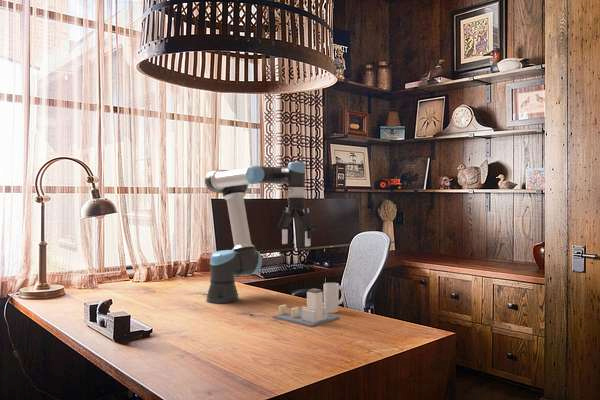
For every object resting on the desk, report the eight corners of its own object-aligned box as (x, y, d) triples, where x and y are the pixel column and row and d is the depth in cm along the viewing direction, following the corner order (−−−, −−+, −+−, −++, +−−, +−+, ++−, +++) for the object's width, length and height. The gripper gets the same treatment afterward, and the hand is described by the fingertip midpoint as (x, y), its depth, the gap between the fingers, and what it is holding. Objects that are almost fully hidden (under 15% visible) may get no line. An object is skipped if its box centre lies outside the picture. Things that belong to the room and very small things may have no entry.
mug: (327, 313, 212) (328, 285, 212) (320, 310, 218) (320, 283, 218) (347, 311, 216) (348, 284, 216) (340, 308, 222) (340, 281, 222)
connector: (306, 319, 198) (306, 289, 198) (313, 317, 201) (314, 287, 201) (315, 321, 195) (315, 291, 195) (322, 319, 198) (322, 289, 198)
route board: (272, 317, 204) (272, 304, 204) (301, 310, 218) (301, 298, 218) (311, 327, 191) (311, 313, 190) (339, 318, 204) (339, 305, 204)
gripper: (270, 196, 224) (270, 243, 224) (312, 197, 207) (312, 247, 207) (281, 196, 229) (281, 242, 229) (323, 197, 213) (323, 246, 213)
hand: (296, 245), depth 218 cm, fingers open, 13 cm apart
